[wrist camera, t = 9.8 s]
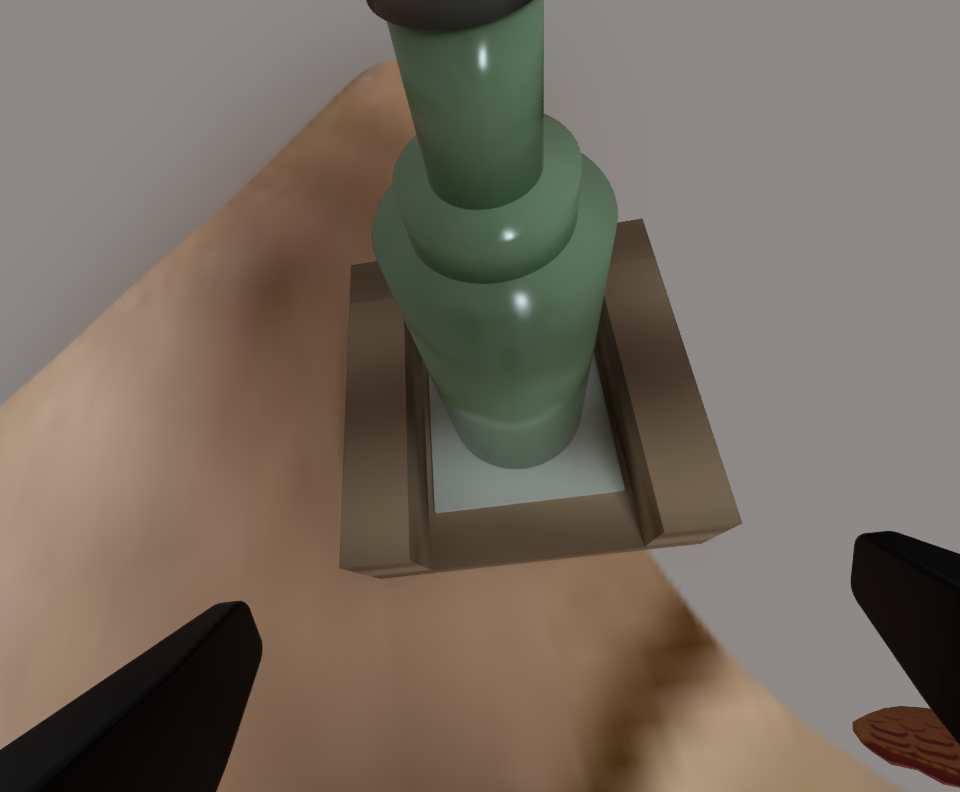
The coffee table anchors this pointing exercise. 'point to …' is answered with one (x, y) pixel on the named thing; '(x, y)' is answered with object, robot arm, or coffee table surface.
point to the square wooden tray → (544, 488)
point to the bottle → (493, 228)
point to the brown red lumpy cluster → (912, 741)
